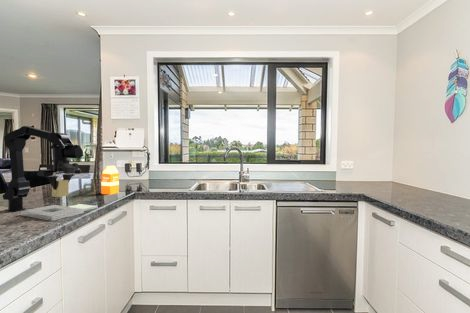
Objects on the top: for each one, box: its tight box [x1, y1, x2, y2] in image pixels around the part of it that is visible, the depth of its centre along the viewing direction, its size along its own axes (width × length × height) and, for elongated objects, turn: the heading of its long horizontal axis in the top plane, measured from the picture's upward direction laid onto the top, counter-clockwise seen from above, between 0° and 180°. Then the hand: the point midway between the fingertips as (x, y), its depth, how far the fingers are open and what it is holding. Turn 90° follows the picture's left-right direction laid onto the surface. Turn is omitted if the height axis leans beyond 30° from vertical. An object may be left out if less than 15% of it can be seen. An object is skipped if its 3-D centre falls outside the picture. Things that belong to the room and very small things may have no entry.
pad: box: [67, 203, 97, 212], centre depth 143 cm, size 12×10×1 cm
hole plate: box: [20, 204, 85, 222], centre depth 130 cm, size 22×16×2 cm
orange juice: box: [100, 165, 120, 195], centre depth 192 cm, size 8×9×20 cm
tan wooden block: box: [51, 178, 70, 198], centre depth 133 cm, size 5×5×8 cm
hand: (60, 188), depth 133 cm, fingers closed on tan wooden block, 5 cm apart
